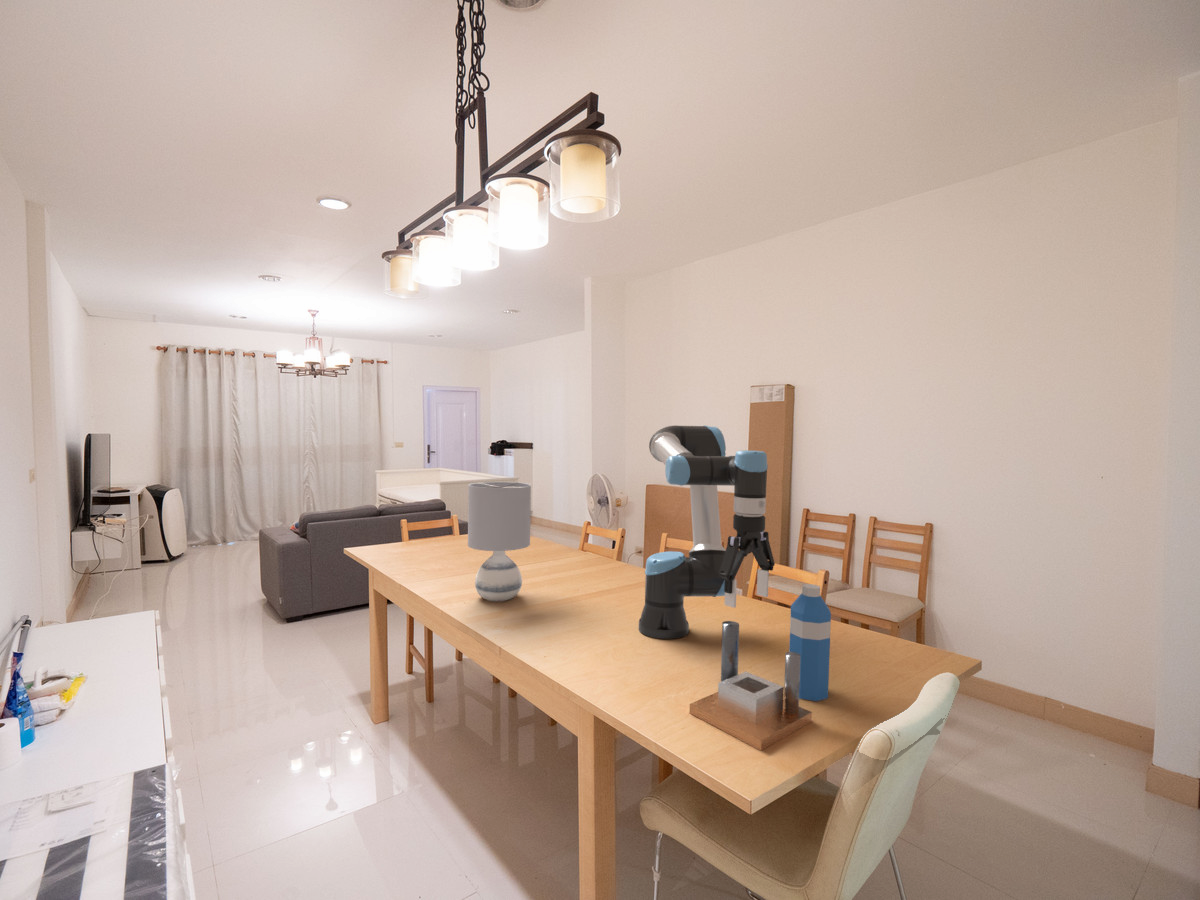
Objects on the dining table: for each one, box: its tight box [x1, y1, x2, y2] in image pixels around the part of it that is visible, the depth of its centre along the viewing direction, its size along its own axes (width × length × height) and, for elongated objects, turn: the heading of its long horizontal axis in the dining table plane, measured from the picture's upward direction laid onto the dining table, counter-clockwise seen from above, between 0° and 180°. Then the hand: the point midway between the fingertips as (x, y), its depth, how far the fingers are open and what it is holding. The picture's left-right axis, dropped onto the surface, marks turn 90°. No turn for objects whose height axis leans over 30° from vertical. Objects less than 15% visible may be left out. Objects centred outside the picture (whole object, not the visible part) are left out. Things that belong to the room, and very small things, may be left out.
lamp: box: [467, 481, 532, 603], centre depth 202 cm, size 22×22×40 cm
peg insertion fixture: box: [688, 651, 813, 751], centre depth 121 cm, size 18×18×14 cm
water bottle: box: [788, 583, 832, 702], centre depth 133 cm, size 9×9×25 cm
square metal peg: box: [720, 620, 740, 682], centre depth 139 cm, size 4×4×14 cm
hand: (746, 600), depth 139 cm, fingers open, 13 cm apart
